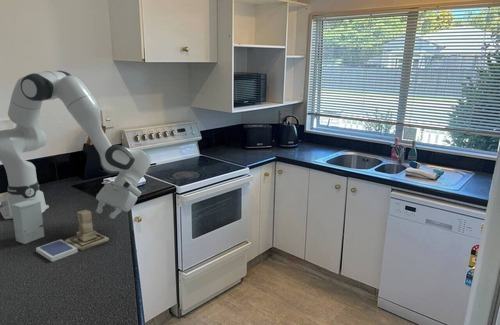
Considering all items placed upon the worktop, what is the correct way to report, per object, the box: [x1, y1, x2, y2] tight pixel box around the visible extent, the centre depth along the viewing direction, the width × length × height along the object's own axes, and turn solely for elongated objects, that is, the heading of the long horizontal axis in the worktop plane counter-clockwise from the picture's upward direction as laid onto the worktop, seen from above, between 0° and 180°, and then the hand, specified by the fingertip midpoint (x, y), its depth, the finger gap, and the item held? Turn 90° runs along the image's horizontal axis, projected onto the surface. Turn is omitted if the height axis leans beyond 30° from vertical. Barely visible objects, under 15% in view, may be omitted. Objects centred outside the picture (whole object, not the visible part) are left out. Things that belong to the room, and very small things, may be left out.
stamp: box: [76, 209, 97, 243], centre depth 141 cm, size 5×5×11 cm
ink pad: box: [35, 238, 79, 262], centre depth 133 cm, size 12×9×2 cm
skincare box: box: [11, 200, 45, 245], centre depth 142 cm, size 8×6×15 cm
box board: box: [64, 231, 110, 251], centre depth 142 cm, size 12×11×1 cm
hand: (104, 215), depth 146 cm, fingers open, 8 cm apart
